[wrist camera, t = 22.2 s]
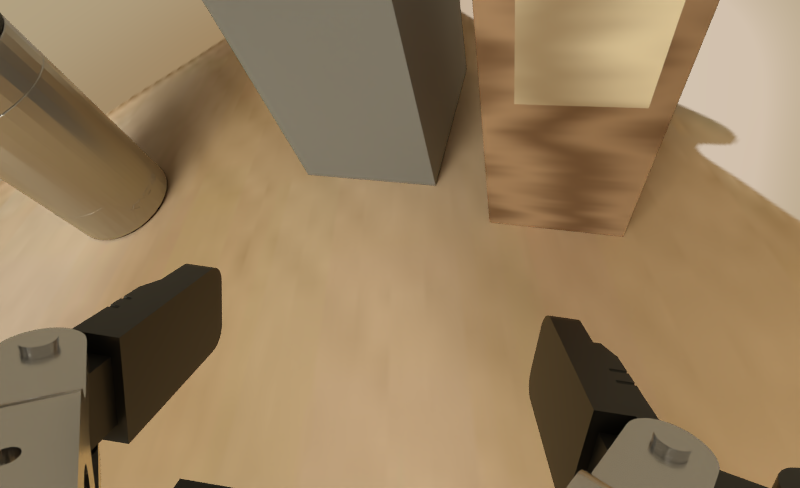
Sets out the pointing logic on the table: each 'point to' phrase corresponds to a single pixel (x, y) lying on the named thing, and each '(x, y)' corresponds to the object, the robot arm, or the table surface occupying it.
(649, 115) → the block
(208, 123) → the table surface
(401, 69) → the charcoal pedestal
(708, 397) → the table surface
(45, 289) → the table surface
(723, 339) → the table surface
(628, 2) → the birch bar
